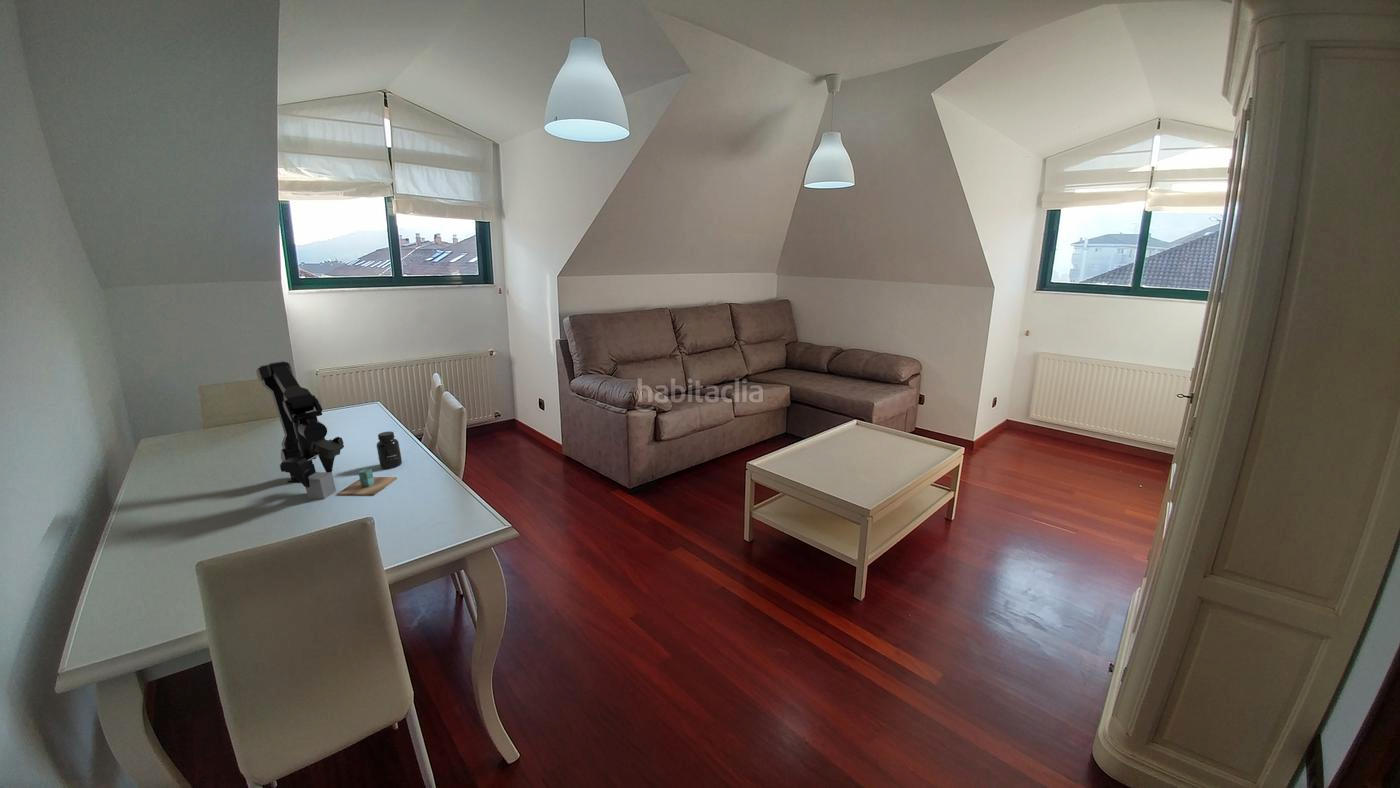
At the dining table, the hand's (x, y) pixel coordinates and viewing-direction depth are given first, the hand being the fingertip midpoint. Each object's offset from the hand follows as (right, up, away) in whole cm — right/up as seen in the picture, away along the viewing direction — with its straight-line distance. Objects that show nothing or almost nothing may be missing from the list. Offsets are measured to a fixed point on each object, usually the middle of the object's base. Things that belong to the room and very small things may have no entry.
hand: (318, 480), depth 168 cm
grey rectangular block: (0, -5, +1) cm, 5 cm away
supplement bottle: (+10, +2, +23) cm, 25 cm away
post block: (+12, -3, +6) cm, 13 cm away
